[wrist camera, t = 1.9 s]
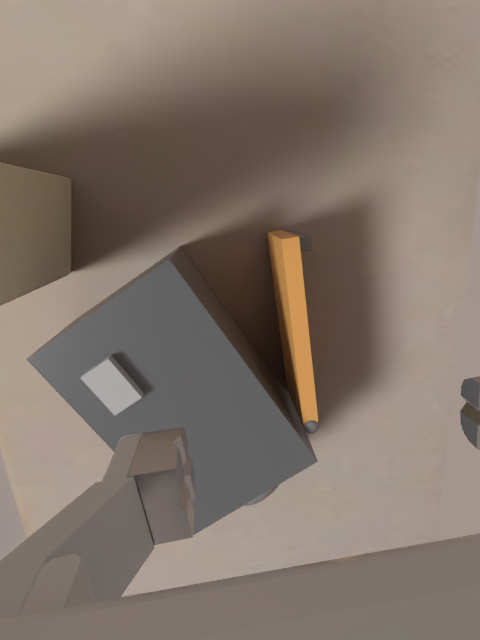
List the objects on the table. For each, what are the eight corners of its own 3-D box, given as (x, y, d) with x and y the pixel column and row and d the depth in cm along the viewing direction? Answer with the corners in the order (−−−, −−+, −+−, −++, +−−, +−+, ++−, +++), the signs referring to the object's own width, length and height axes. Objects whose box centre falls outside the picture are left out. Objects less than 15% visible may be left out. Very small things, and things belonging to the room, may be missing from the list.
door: (309, 387, 30) (331, 430, 24) (287, 391, 30) (304, 434, 24) (291, 228, 26) (313, 234, 21) (266, 232, 26) (281, 239, 21)
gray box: (304, 419, 31) (331, 482, 24) (208, 477, 32) (205, 556, 25) (180, 245, 26) (167, 260, 19) (72, 322, 28) (21, 363, 20)
